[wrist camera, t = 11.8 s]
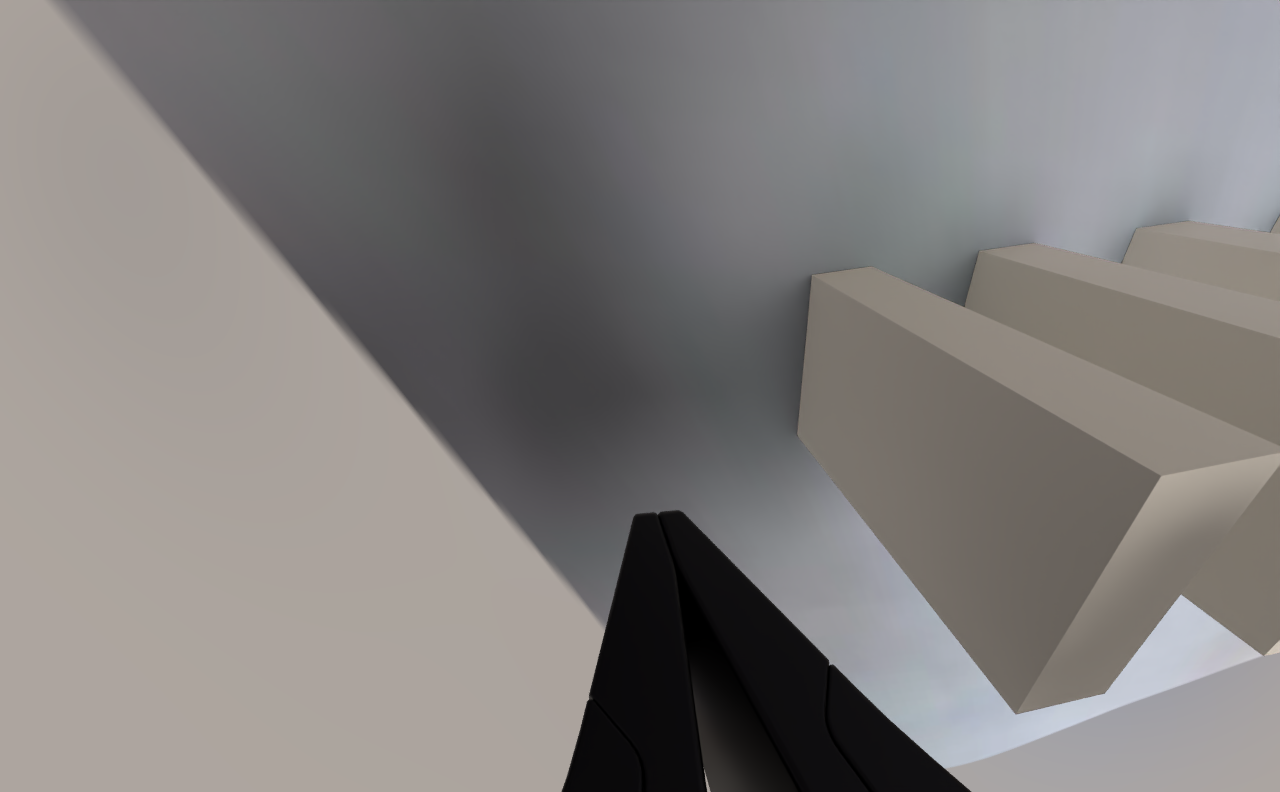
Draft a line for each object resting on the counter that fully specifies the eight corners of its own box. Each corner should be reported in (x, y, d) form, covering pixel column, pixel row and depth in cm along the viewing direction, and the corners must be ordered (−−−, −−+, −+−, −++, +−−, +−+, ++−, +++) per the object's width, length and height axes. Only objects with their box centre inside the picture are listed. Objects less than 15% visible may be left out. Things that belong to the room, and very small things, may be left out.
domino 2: (979, 250, 12) (1514, 406, 5) (1034, 243, 12) (1626, 384, 6) (936, 411, 15) (1263, 656, 8) (983, 403, 15) (1344, 637, 8)
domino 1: (811, 275, 12) (1161, 476, 5) (871, 266, 12) (1288, 450, 5) (796, 435, 14) (1015, 714, 8) (845, 426, 15) (1104, 692, 8)
